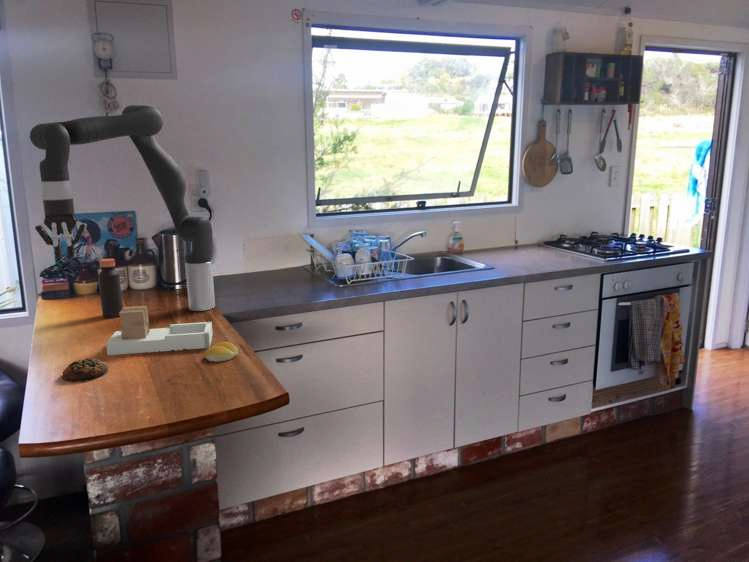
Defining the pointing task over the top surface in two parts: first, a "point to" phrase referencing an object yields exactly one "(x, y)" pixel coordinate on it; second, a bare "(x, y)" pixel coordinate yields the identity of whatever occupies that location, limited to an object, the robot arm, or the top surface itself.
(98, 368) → the bread roll
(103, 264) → the bottle
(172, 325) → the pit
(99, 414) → the top surface
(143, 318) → the block
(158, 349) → the ledge
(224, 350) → the bread roll
